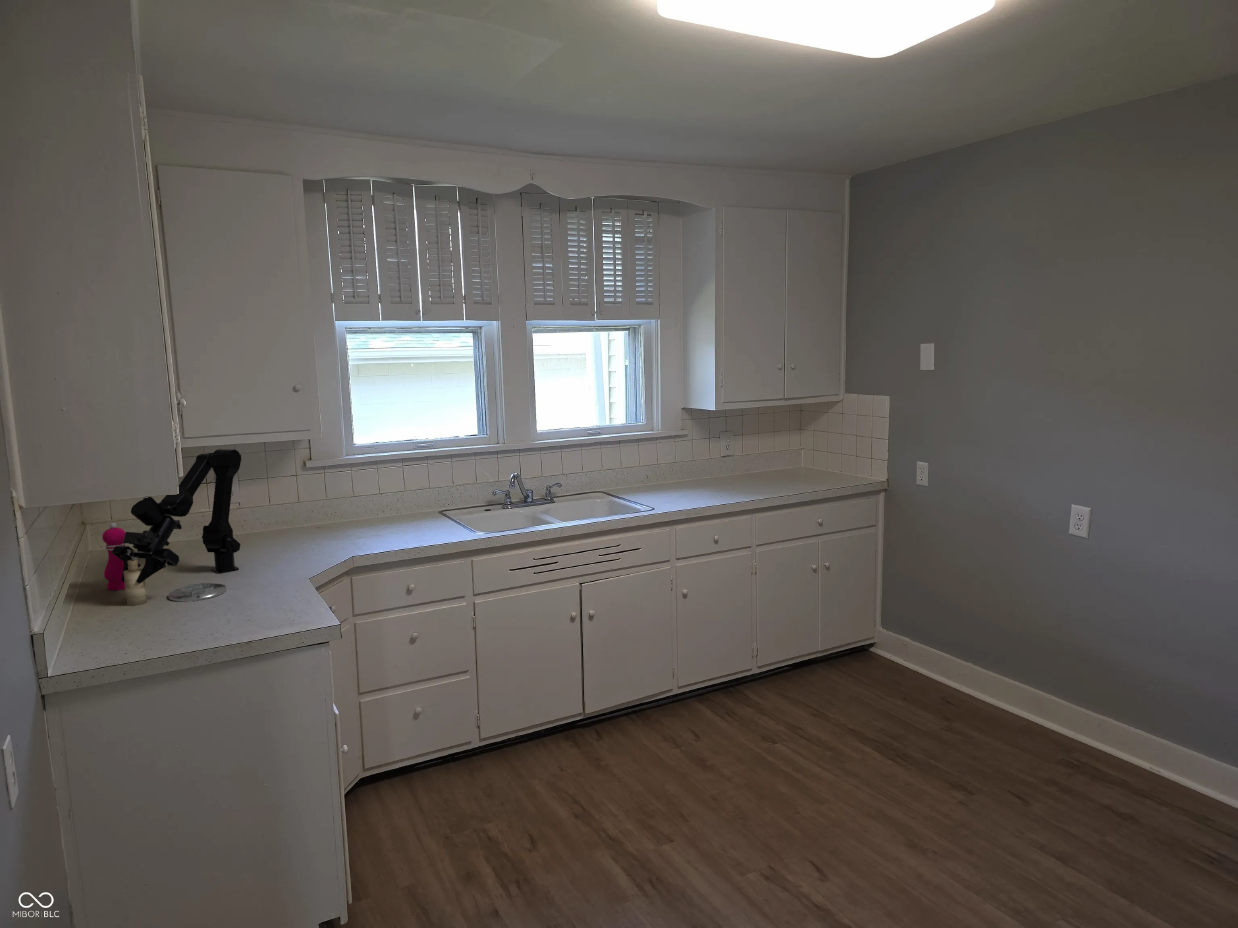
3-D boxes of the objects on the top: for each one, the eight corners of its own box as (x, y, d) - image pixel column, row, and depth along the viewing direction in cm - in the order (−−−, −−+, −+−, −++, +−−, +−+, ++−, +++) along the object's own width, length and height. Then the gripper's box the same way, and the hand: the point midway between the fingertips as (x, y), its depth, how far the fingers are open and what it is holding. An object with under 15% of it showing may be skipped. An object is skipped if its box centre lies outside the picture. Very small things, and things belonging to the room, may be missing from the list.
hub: (168, 591, 233) (168, 584, 233) (224, 583, 240) (224, 576, 240) (168, 605, 220) (167, 598, 220) (227, 596, 227) (227, 589, 227)
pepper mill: (109, 585, 239) (101, 521, 236) (136, 582, 242) (129, 519, 239) (103, 592, 233) (95, 526, 230) (131, 589, 235) (124, 524, 232)
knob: (125, 603, 222) (120, 559, 220) (144, 599, 225) (139, 556, 223) (129, 607, 219) (124, 563, 217) (148, 603, 222) (144, 559, 220)
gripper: (113, 518, 225) (83, 565, 216) (167, 521, 220) (138, 569, 211) (139, 538, 233) (111, 585, 224) (191, 541, 229) (164, 589, 220)
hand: (130, 582), depth 220 cm, fingers closed on knob, 5 cm apart
